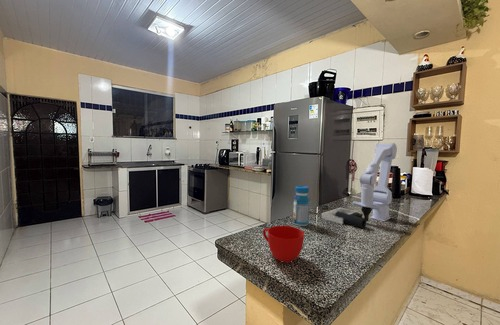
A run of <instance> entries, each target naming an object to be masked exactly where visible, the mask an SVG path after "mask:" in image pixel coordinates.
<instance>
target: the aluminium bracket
mask: <svg viewBox="0 0 500 325" xmlns="http://www.w3.org/2000/svg"><path fill="white" fill-rule="evenodd" d="M338 211H339V212H342V213H346V214H349V215H350V214H353V213H354V212H358V213H361V212H362V211H358V210H353V209H349V208H345V207H337V208H334V209H330V210H327V211H324V212H321V219H324V220H326V221H329V222H334V223H335V224H340V225H344V224H345V223H344V218H341V217H338V216H335V214H336V212H338ZM361 214H362V213H361Z"/></svg>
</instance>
